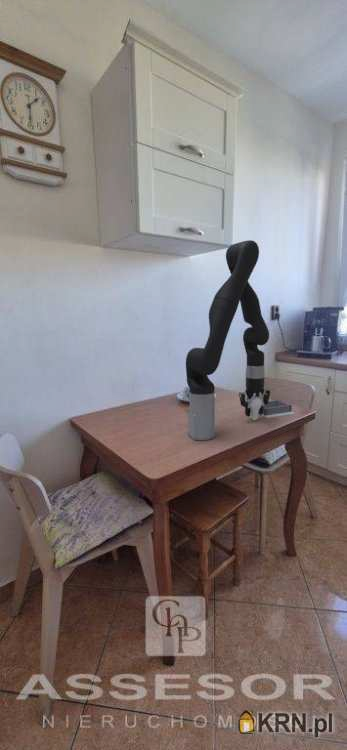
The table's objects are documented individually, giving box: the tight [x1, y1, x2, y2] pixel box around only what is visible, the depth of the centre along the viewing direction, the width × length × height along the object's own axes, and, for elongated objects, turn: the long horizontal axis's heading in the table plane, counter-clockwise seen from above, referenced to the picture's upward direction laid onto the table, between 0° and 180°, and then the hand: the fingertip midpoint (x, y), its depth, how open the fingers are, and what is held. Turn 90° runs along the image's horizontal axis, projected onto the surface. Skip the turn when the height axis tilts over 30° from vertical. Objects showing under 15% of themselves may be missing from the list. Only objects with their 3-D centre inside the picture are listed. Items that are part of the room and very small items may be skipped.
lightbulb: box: [247, 397, 262, 422], centre depth 134 cm, size 6×6×11 cm
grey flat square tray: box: [261, 399, 297, 419], centre depth 146 cm, size 15×15×3 cm
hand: (254, 414), depth 134 cm, fingers closed on lightbulb, 5 cm apart
